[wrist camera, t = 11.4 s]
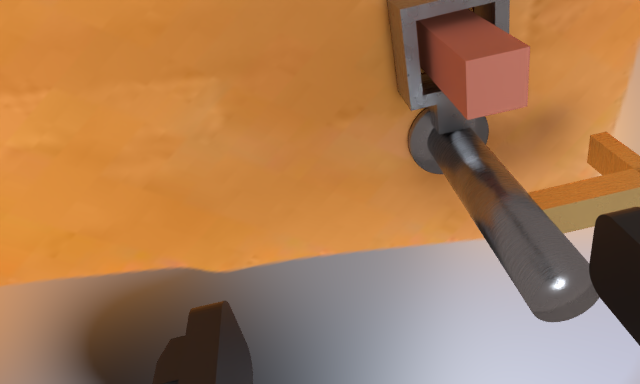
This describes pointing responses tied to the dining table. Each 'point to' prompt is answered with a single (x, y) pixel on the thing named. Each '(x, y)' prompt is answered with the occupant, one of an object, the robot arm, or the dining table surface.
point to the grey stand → (510, 176)
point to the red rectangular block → (474, 63)
